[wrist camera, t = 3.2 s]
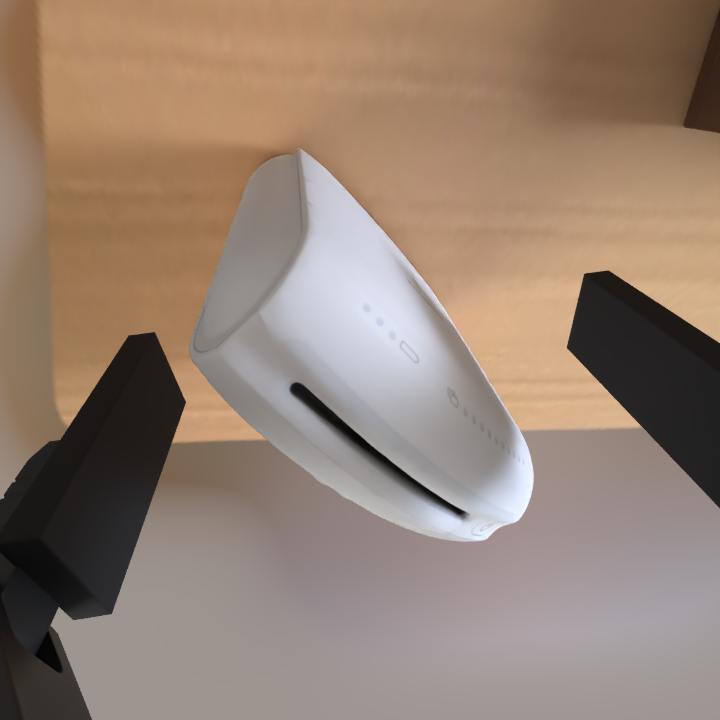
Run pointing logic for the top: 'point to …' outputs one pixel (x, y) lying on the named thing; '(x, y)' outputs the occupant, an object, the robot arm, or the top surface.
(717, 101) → the tray
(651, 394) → the robot arm
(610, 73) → the top surface
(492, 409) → the photo printer
